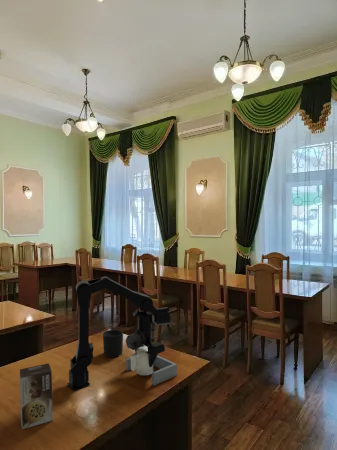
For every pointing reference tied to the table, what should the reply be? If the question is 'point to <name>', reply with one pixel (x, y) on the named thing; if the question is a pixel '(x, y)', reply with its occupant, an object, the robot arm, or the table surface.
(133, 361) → the jug
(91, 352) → the robot arm
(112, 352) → the pen holder
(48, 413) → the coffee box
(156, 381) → the frame
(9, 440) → the table surface
